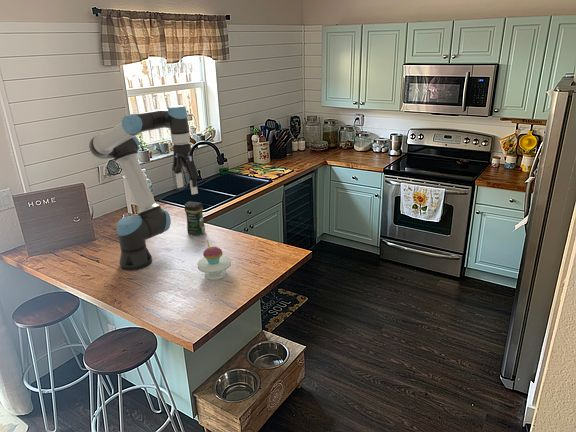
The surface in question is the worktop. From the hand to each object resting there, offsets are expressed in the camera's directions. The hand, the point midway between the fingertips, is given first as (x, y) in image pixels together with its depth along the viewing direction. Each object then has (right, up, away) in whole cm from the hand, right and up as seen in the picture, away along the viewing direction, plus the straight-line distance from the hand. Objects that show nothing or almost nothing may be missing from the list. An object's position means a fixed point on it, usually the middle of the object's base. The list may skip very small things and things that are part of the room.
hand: (187, 190), depth 194 cm
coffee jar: (-7, -21, +54) cm, 58 cm away
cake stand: (+11, -38, +7) cm, 41 cm away
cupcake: (+11, -33, +5) cm, 35 cm away
